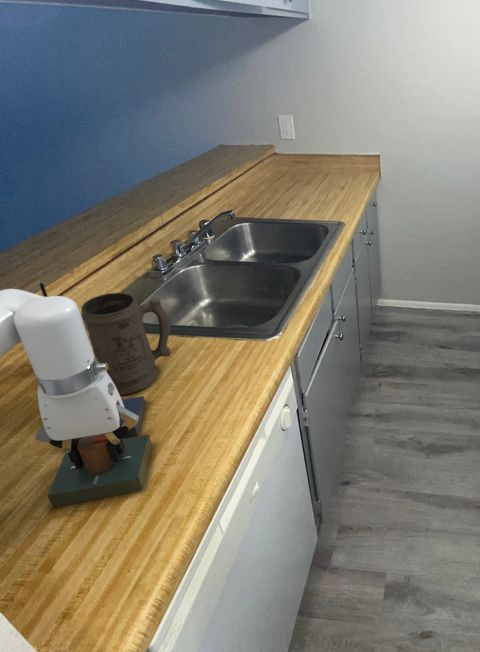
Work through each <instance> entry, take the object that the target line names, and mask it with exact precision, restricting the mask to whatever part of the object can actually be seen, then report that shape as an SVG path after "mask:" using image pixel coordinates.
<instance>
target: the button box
mask: <svg viewBox="0 0 480 652" xmlns="http://www.w3.org/2000/svg"><path fill="white" fill-rule="evenodd" d="M121 399H122V402H123V405H124V408H125V409H127V410H129V411H131V412H132V413H134V414H136V415H138V416H139V420H138V423H137V424H136V425H135V426H134V427H132V428H131V429H129V430H128V432H127V433H126V434H125V435H124V436H123V437H122V439H125V438H131V437H136V436H139V433H140V428H141V424H142V421H143V417H144V413H145V409H146V405H147V403H146V400H145V396H144V395H142V396H135V397H130V398H129V397H128V398H121ZM123 422H125V421H123V420H121V419H120V421H119V424H120V425H121V424H122V423H123ZM81 438H83V437H80V438H76V439H81Z"/></svg>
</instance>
